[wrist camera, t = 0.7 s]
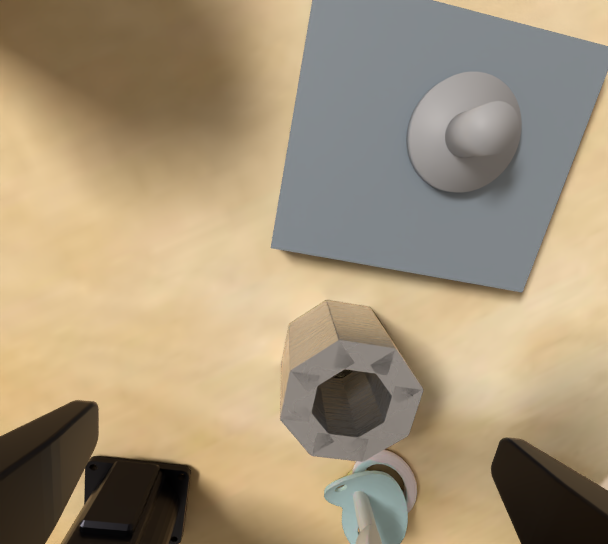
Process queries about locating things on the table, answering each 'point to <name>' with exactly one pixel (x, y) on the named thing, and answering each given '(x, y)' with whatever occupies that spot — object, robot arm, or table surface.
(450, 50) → the block
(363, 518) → the pacifier
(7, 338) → the table surface
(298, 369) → the hub
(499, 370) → the table surface
